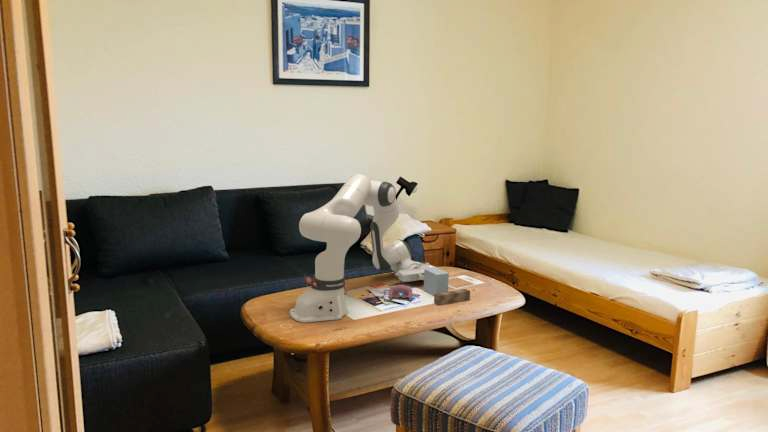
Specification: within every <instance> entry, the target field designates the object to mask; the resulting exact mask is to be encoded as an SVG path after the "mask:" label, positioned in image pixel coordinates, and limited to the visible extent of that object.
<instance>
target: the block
mask: <svg viewBox="0 0 768 432" xmlns="http://www.w3.org/2000/svg"><path fill="white" fill-rule="evenodd" d="M449 275H450V273H449V272H447V271H445V270H443V269H440V268H439V269H438V267H437V268H428V269H424V280H423V292H425V293H427V294H429V295H431V296H433V297H434V294H437V293H443V292H449V287H448V285H449V280H450V279H449V278H450V277H449Z"/></svg>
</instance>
